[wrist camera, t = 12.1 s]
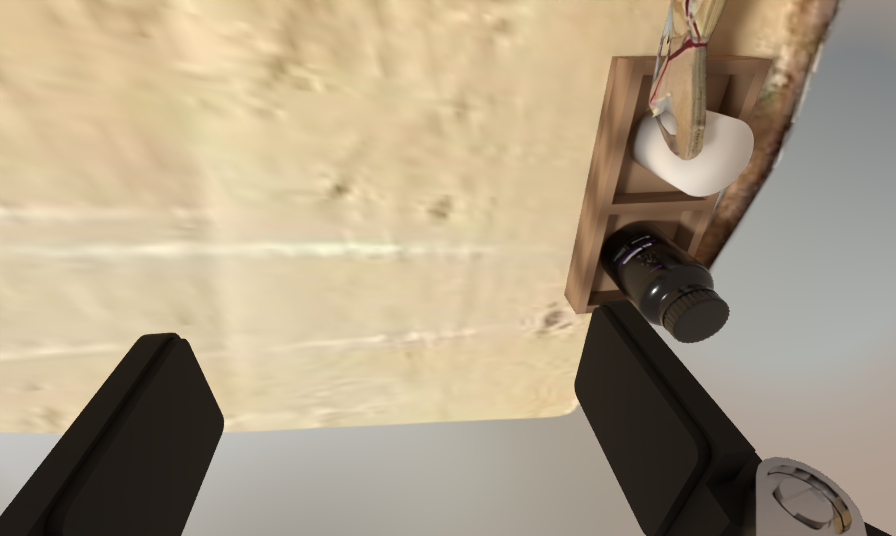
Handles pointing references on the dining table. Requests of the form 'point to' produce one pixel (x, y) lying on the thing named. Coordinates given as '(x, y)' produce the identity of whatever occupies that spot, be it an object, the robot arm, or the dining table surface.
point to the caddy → (633, 187)
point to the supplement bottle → (664, 282)
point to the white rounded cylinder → (705, 173)
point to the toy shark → (685, 73)
